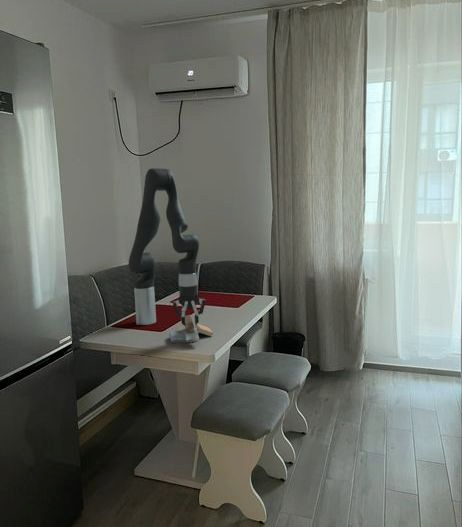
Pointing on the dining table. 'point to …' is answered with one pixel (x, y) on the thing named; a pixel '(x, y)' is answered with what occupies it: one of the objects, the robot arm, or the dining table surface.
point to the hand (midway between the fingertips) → (190, 324)
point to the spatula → (190, 330)
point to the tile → (203, 330)
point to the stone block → (178, 336)
